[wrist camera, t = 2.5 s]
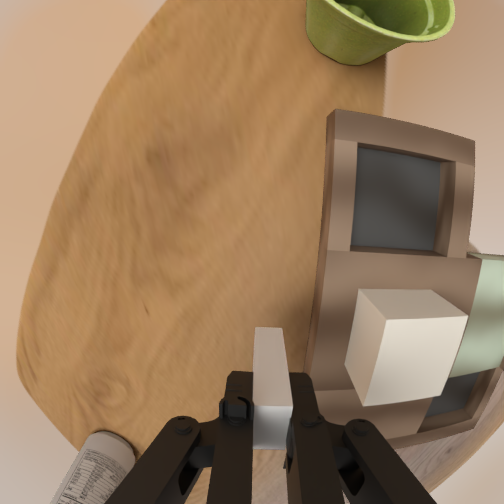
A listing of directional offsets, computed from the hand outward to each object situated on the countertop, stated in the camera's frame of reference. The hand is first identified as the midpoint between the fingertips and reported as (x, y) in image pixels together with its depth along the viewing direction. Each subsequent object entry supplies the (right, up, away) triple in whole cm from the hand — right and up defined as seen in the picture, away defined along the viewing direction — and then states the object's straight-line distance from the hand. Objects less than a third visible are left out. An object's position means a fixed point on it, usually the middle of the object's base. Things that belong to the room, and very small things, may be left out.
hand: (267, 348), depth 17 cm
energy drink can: (-17, -17, +10) cm, 26 cm away
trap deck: (+14, 0, +6) cm, 15 cm away
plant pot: (+6, +22, +1) cm, 23 cm away
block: (+9, 0, +3) cm, 10 cm away
